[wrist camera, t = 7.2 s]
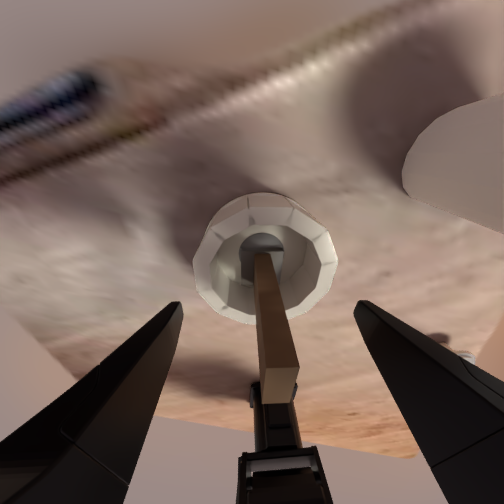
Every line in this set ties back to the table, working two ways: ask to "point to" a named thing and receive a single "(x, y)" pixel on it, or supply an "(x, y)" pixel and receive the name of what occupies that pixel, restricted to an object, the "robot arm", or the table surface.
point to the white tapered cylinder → (461, 163)
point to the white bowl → (264, 236)
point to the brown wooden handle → (271, 324)
